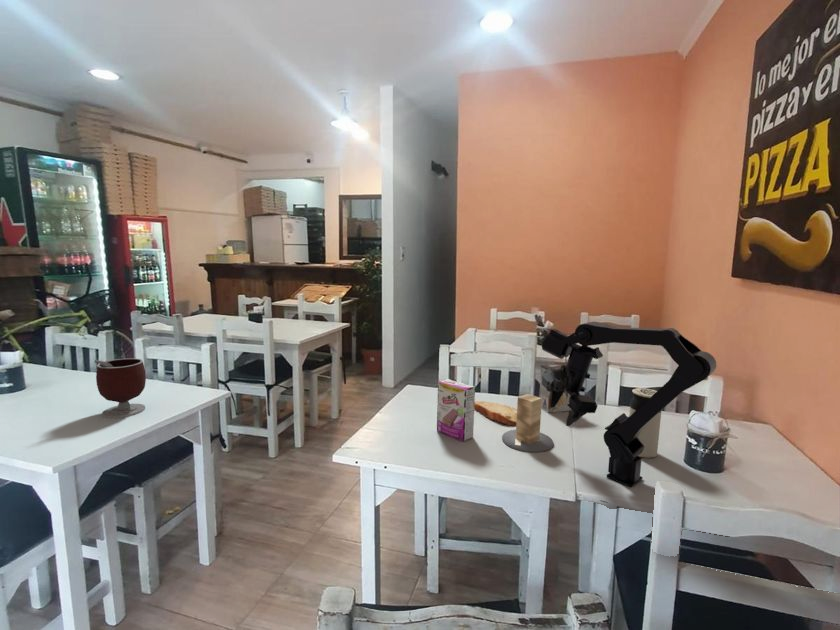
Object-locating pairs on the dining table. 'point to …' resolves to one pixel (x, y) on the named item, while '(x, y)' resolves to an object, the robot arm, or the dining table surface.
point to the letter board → (537, 446)
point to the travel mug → (651, 429)
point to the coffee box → (546, 394)
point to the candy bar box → (455, 409)
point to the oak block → (528, 418)
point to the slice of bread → (497, 412)
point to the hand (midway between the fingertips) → (559, 416)
